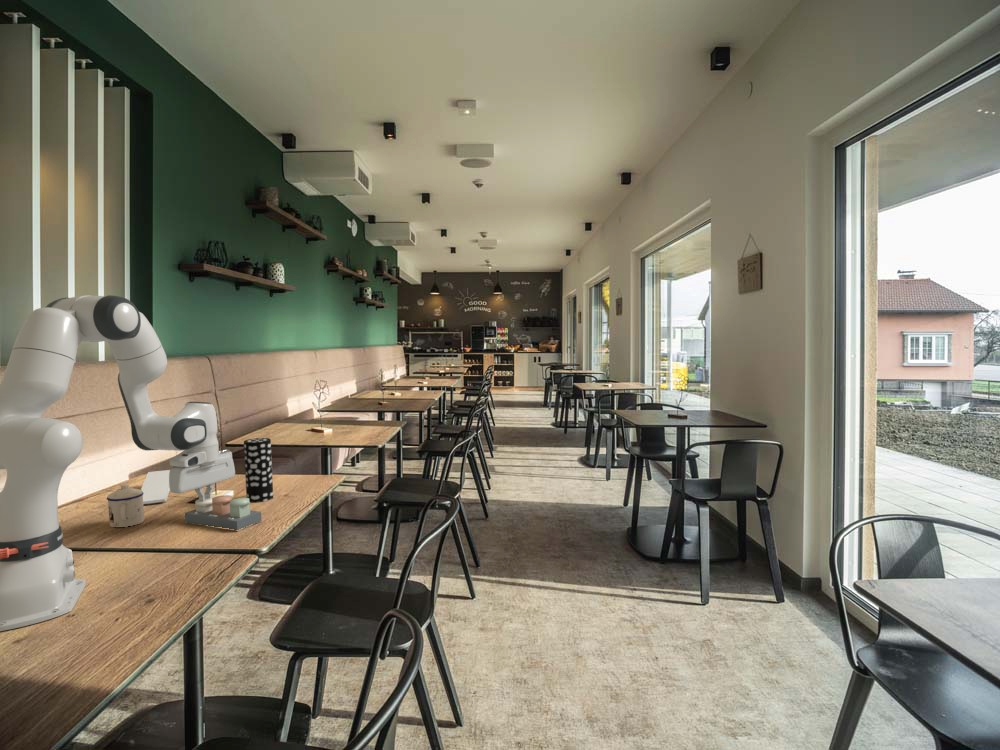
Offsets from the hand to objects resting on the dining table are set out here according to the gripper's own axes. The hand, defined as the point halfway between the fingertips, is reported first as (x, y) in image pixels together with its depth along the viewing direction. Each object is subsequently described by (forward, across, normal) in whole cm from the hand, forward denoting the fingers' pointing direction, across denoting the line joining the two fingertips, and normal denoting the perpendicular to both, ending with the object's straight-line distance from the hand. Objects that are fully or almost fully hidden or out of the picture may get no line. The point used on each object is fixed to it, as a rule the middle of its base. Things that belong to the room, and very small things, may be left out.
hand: (205, 500), depth 171 cm
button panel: (+6, 0, +7) cm, 9 cm away
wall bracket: (+7, -13, -40) cm, 43 cm away
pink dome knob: (+3, 0, +7) cm, 8 cm away
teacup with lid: (+6, +12, -18) cm, 23 cm away
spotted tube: (+6, -22, -1) cm, 23 cm away
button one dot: (+5, 0, 0) cm, 5 cm away
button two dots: (+4, 0, +14) cm, 15 cm away
